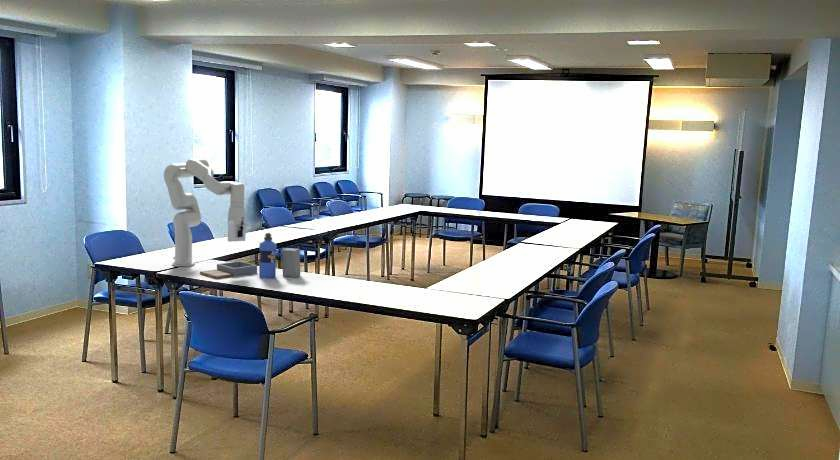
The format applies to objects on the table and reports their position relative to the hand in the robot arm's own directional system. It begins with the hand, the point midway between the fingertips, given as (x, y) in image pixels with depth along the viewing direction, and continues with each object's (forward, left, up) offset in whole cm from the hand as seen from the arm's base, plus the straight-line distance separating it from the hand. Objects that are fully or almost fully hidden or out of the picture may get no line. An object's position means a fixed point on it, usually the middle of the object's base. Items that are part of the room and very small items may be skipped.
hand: (236, 236), depth 399 cm
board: (0, -13, -21) cm, 25 cm away
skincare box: (+26, +19, -21) cm, 39 cm away
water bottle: (+20, +7, -21) cm, 30 cm away
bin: (0, +1, -21) cm, 21 cm away
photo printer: (0, 0, -3) cm, 3 cm away
